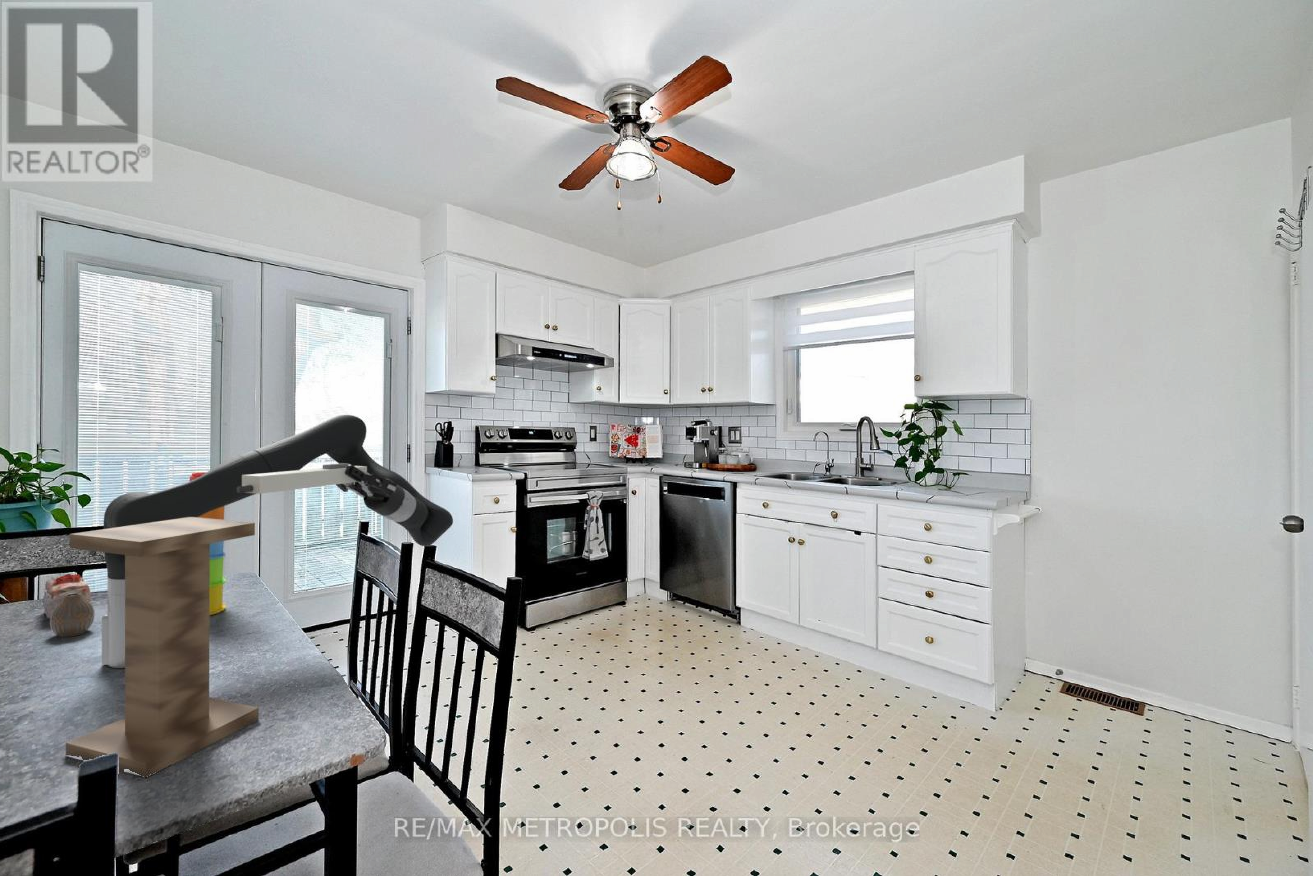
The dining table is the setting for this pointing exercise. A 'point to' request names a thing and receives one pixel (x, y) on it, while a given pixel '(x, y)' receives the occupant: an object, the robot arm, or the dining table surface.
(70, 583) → the food item
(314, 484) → the white long block
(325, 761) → the dining table surface
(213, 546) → the stacking cups
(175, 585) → the stand
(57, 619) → the vase
